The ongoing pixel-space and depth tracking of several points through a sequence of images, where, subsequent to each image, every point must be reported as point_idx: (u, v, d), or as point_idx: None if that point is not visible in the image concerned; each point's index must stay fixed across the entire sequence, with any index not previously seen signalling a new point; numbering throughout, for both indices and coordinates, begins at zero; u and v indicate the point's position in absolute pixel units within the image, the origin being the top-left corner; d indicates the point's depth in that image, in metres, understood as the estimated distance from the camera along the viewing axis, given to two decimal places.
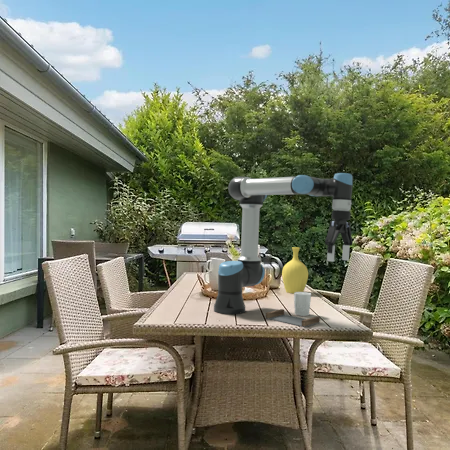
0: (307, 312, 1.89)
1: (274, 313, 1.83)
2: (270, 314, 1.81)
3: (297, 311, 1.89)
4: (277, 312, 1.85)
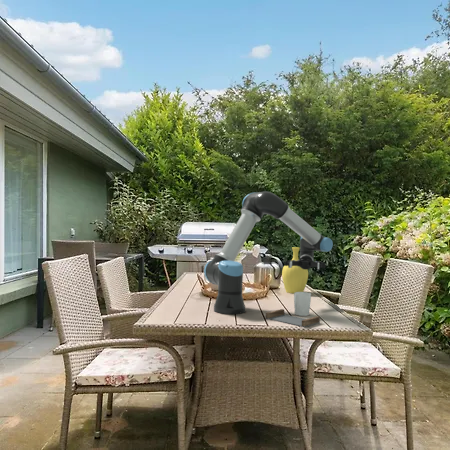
0: (307, 312, 1.89)
1: (274, 313, 1.83)
2: (270, 314, 1.81)
3: (297, 311, 1.89)
4: (277, 312, 1.85)
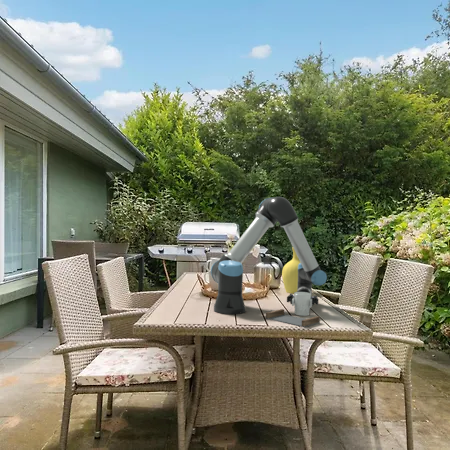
0: (307, 312, 1.89)
1: (274, 313, 1.83)
2: (270, 314, 1.81)
3: (297, 311, 1.89)
4: (277, 312, 1.85)
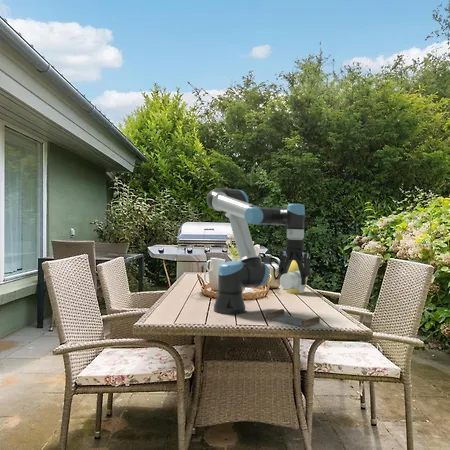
0: None
1: (274, 313, 1.83)
2: (270, 314, 1.81)
3: (291, 288, 1.74)
4: (277, 312, 1.85)
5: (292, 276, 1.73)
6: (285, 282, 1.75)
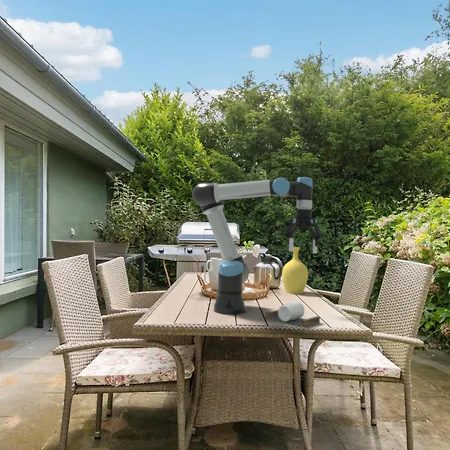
0: None
1: (274, 313, 1.83)
2: (270, 314, 1.81)
3: (290, 319, 1.74)
4: (277, 312, 1.85)
5: (290, 308, 1.74)
6: (283, 314, 1.75)
